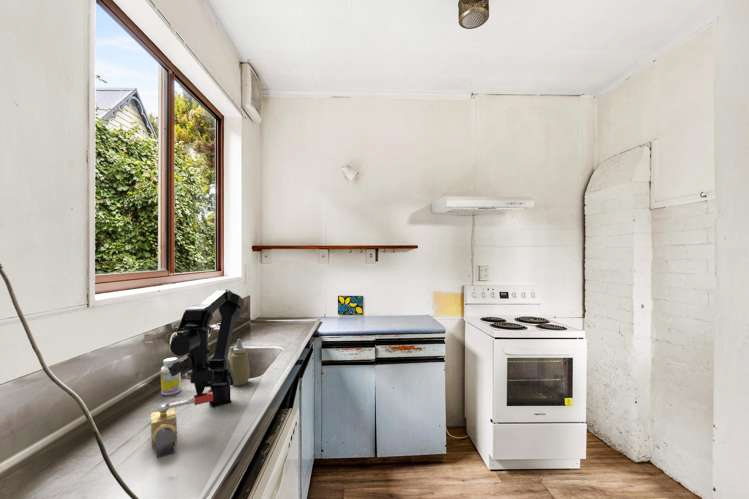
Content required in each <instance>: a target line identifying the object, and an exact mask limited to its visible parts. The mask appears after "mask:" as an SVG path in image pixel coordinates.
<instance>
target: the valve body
mask: <svg viewBox="0 0 749 499" xmlns="http://www.w3.org/2000/svg"><path fill="white" fill-rule="evenodd" d="M177 427H178V426H177V414H176V407H174V408H170V409H168V410H167V411H164V412H157V409H156V410H155V411H154V412H151V413H150V439H151V440H150V441H151V449H155V451H156V453H155V454H156V459H158V458H161V457H165V456H168V455H171V454H175V446H176V442H177V441H178V430H177Z"/></svg>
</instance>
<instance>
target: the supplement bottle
mask: <svg viewBox="0 0 749 499" xmlns="http://www.w3.org/2000/svg"><path fill="white" fill-rule="evenodd" d="M177 359H178V357H168V358H165V359H163V360H162V361H163V366H162V367H161V368H160V389H161V390H160V391H161V392H160V393H161V394H162V395H163V396H171V395H175V394H177V393H179V392H180V391H181V389H182V380H181V378H182V377H181V372H180V373H178V374H177V375H175V376H171V374H170V372H169V369H168V367H167V364H169V363H170V362H172V361H174V360H177Z"/></svg>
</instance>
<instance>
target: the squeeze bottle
mask: <svg viewBox="0 0 749 499" xmlns="http://www.w3.org/2000/svg"><path fill="white" fill-rule="evenodd" d="M232 352H233V353H232V354H231V355H230V360H229V362H230V365H231V371H232V373H233V374H234V376H235V380H234V385H233V386H243V385H246V384H248V382H249V378H250V375H251V368H250V362H249V361H250V360H249V359H250V358H249V354H248V352H246V347H245V346H243V344H242V340H241V338H237V342H236V347H234V348H233V350H232Z"/></svg>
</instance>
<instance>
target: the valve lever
mask: <svg viewBox="0 0 749 499" xmlns="http://www.w3.org/2000/svg"><path fill="white" fill-rule="evenodd" d="M211 401H213V393H212V392H208V391H207V392H203V393H202V394H198V395H197V394H195V395H193V398H189V399H185V400H184V399H183V400H181V401H175V402H171V403H168V402H165V403H161V404H159V405H158V404H157V405H156V410H157V412H164V411H167V410H168V409H171V408H178V407H182V406H187V405H191V404H194V406H197V405H202V404H206V403H209V402H211Z"/></svg>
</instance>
